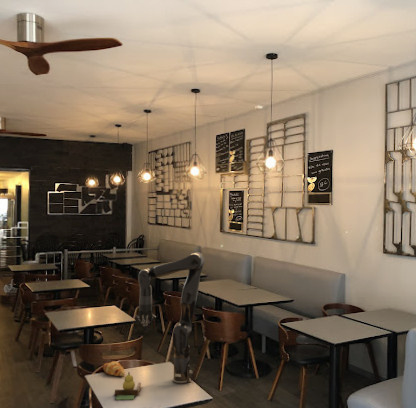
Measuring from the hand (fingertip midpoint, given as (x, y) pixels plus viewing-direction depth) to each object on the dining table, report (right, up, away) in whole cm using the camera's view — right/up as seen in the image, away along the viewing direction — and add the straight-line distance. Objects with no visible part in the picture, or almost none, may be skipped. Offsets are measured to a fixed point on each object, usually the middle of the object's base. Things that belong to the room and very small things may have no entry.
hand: (145, 332), depth 270 cm
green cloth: (-5, -27, -29) cm, 40 cm away
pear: (-5, -27, -21) cm, 34 cm away
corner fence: (-5, -27, -21) cm, 34 cm away
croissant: (-21, -27, +7) cm, 35 cm away
